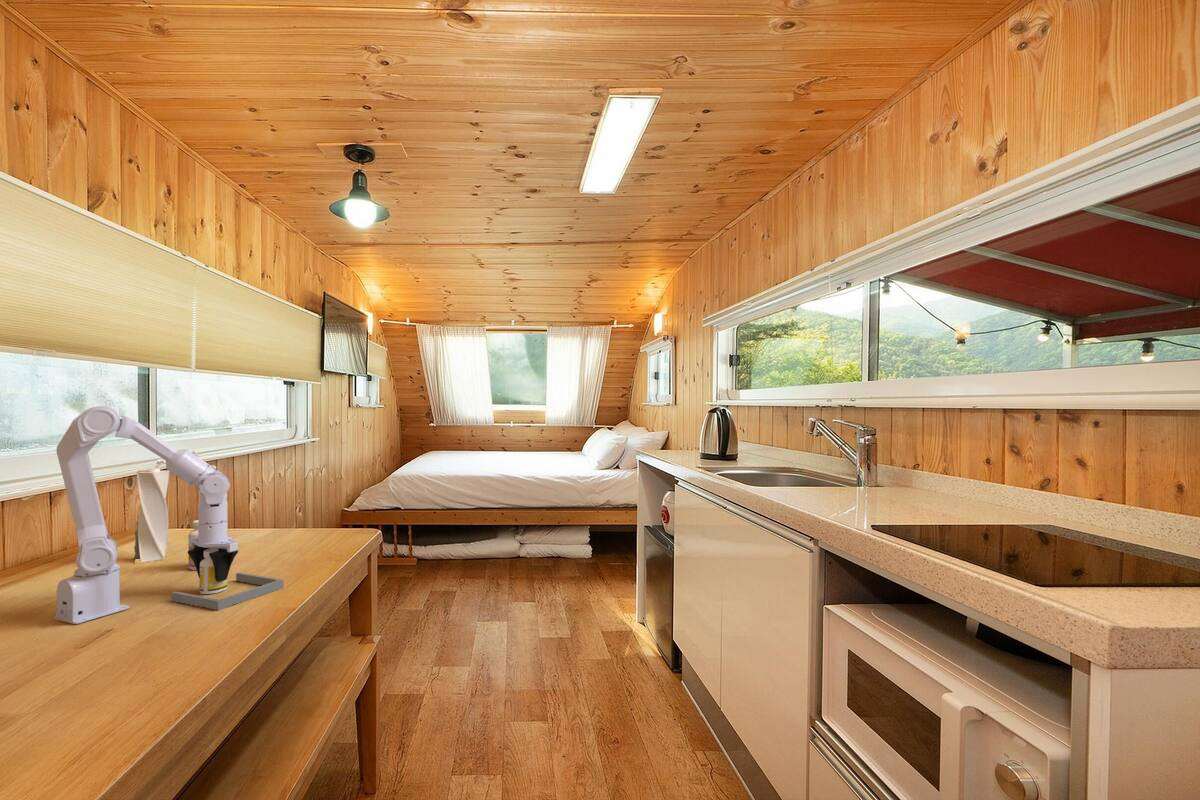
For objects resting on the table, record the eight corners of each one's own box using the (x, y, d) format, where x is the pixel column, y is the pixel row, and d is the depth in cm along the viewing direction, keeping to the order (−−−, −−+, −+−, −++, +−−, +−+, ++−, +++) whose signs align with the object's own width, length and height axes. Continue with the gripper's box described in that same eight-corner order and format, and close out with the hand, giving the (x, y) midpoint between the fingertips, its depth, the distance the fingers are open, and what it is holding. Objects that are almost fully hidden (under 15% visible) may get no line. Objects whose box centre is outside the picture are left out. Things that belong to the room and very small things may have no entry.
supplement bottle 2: (232, 587, 133) (233, 546, 133) (216, 595, 127) (216, 553, 127) (210, 586, 133) (211, 546, 133) (193, 594, 127) (194, 552, 127)
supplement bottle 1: (191, 565, 151) (192, 519, 151) (220, 562, 154) (220, 516, 154) (185, 572, 145) (185, 523, 145) (215, 569, 147) (215, 521, 148)
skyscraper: (171, 554, 163) (171, 460, 163) (172, 560, 157) (172, 463, 157) (134, 559, 158) (134, 462, 158) (133, 566, 151) (133, 465, 152)
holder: (217, 610, 118) (217, 601, 118) (171, 601, 123) (171, 592, 123) (283, 587, 132) (283, 579, 132) (239, 580, 138) (239, 572, 138)
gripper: (250, 520, 131) (250, 577, 131) (210, 516, 136) (209, 570, 136) (220, 526, 124) (220, 586, 124) (179, 522, 130) (179, 579, 130)
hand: (213, 579), depth 130 cm, fingers open, 5 cm apart
